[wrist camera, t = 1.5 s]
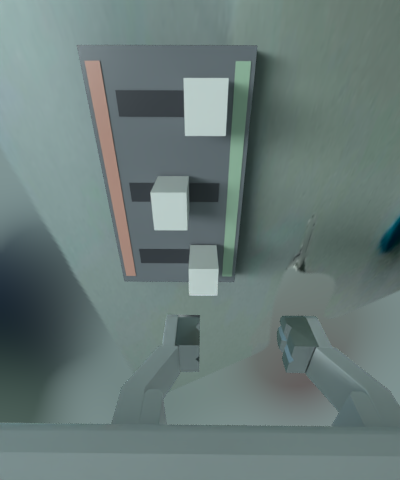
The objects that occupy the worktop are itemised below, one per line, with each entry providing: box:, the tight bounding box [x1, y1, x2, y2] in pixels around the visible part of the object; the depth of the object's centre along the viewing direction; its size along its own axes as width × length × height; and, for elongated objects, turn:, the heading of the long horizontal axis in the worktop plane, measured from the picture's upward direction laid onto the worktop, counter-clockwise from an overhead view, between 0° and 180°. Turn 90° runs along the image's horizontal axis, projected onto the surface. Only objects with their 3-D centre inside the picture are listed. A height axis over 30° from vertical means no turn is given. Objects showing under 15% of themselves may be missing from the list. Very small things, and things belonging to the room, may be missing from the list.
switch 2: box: [189, 245, 219, 296], centre depth 28 cm, size 3×4×4 cm
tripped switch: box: [150, 176, 190, 230], centre depth 24 cm, size 3×4×4 cm
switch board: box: [77, 45, 257, 282], centre depth 27 cm, size 14×24×3 cm, turn 0°
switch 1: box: [183, 78, 229, 136], centre depth 19 cm, size 3×4×4 cm
